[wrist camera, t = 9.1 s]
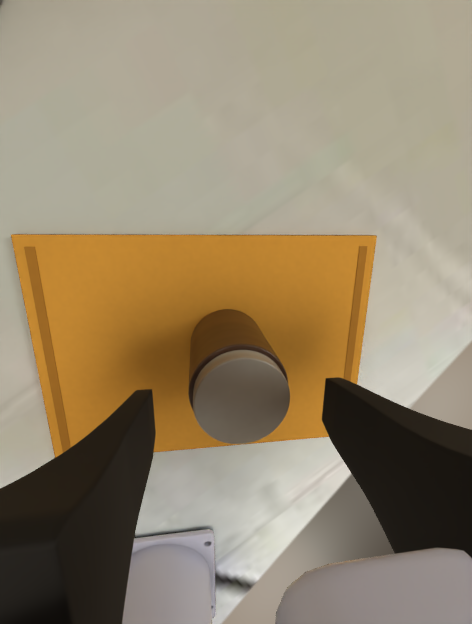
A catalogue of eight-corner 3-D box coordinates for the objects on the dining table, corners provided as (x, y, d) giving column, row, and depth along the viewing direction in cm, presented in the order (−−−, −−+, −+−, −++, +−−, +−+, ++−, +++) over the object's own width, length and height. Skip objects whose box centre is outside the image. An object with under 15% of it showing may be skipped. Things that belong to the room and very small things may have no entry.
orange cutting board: (347, 431, 22) (350, 435, 21) (58, 456, 19) (55, 461, 19) (373, 235, 18) (377, 235, 17) (15, 234, 15) (9, 234, 15)
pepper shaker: (260, 373, 19) (292, 444, 13) (191, 377, 18) (190, 453, 12) (262, 307, 18) (298, 350, 12) (189, 309, 17) (185, 356, 11)
